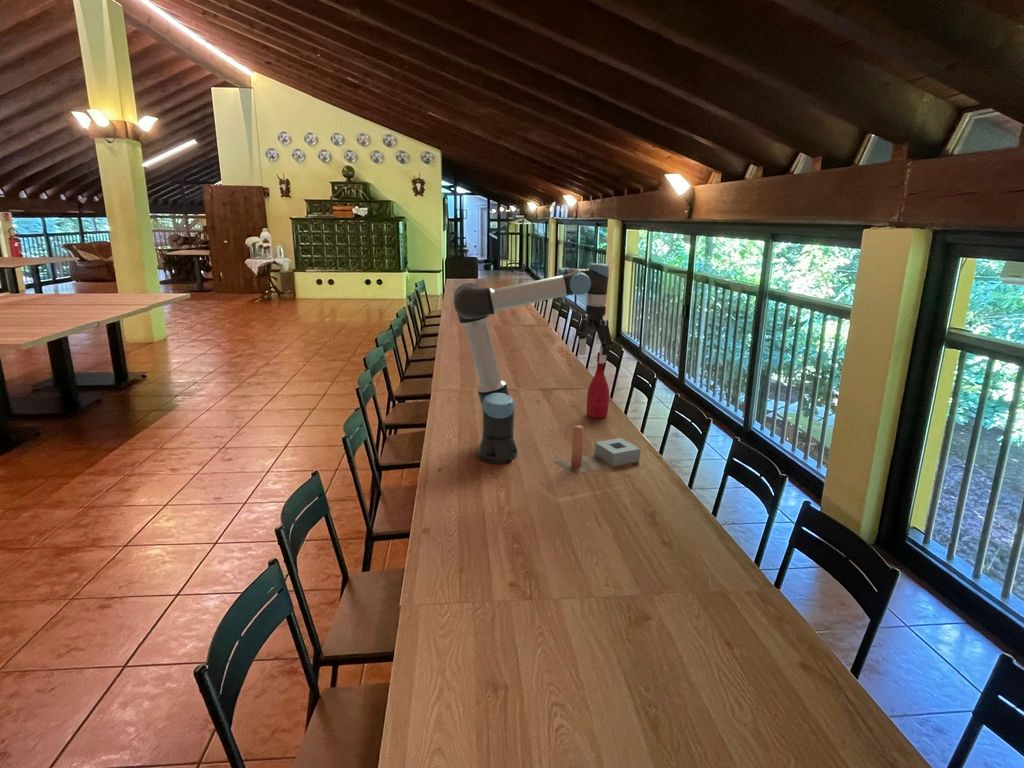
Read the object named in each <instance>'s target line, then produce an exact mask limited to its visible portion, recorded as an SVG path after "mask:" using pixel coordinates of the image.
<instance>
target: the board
mask: <svg viewBox="0 0 1024 768" xmlns="http://www.w3.org/2000/svg"><path fill="white" fill-rule="evenodd" d="M571 461H572V458H567V459H562V460H556V461H554V464H556V465H557V466H558V467H560V468H561V469H562V470H564V471H565V472H567V473H568V474H569V475H576V474H582V473H585V472H591V471H596V470H602V469H607V468H612V467H614V466H611V465H610V464H608V463H607V462H605V461H604V460H602V459H601V458H599V457H598V456H596V455H594V454H590V455H582V460H581V467H573V466H571ZM630 464H631V465H632V466H635V465H639V464H640V460H639V461H638V462H633V463H630ZM618 466H619V465H617V466H616V467H618Z"/></svg>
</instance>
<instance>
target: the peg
mask: <svg viewBox="0 0 1024 768" xmlns="http://www.w3.org/2000/svg"><path fill="white" fill-rule="evenodd" d="M572 428H573V430H572V431H573V433H572V447H571V459H572V461H571V466H573V467H581V460H582V457H583V444H584V443H583V441H584V430H585V429H584V426H583V425H580V424H577V425H573V427H572Z"/></svg>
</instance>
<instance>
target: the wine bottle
mask: <svg viewBox="0 0 1024 768" xmlns="http://www.w3.org/2000/svg"><path fill="white" fill-rule="evenodd" d="M596 355H597V357H596V358H597V359H596V362H597V365H596V371H595V373H594V376H593V377H592V380H591V382H590V383H589V385H588V388H587V389H588V390H587V398H586V415H587V416H588V417H590V418H591V419H604V418H606V417H607V416H608V412H609V402H610V389H609V388H610V387H609V384H608V381H607V379H606V376H605V372H604V370H605V369H604V363H599V356H600V351H599V352H597V354H596Z"/></svg>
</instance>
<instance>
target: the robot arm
mask: <svg viewBox="0 0 1024 768" xmlns="http://www.w3.org/2000/svg"><path fill="white" fill-rule="evenodd" d="M609 271H610V268H609V265H608V264H607V263H602V262H601V263H600V262H599V263H597V262H595V263H594V262H592V263H590V264H589V265H588V268H573V267H559V268H558V269H557V271H556V275H555V276H551V277H546V278H542V279H538V280H533V281H526V282H522V283H517V284H512V285H508V286H503V287H498V288H492V287H490V286H489V287H481V286H480V285H478V284H477V283H474V282H466V283H462V284H461V285H459V286H458V287H457V288H456V289H455V292H454V293H453V306H454V310H455V312H456V313H457V314H456V315H457V318H458V321H459V323H460V325H462V326H464V328H465V332H466V335H467V339H468V344H469V347H470V348H469V349H470V351H471V355H472V359H473V362H474V363H473V364H474V366H475V370H476V375H477V379H478V382H479V386H478V387H477V389H476V390H477V393H478V394H477V395H478V398H479V401H480V405H481V411H482V437H481V440H480V442H479V445H478V449H477V458H478V459H479V460H480V461H482V462H485V463H488V464H498V465H501V464H508V463H511V462H513V460H514V459H516V458H517V457H518V448H517V445H516V441H515V438H514V433H515V432H514V430H515V429H514V426H515V424H514V423H515V410H516V405H515V400H514V398H513V396H511V395H510V393H509V388H508V385H507V382H506V380H504V379H502V377H501V374H500V369H499V365H498V361H497V357H496V356H497V355H496V352H495V347H494V344H493V341H492V336H491V332H490V328H489V323H488V320H489V317H490V316H492V315H496V313H497V312H498V311H501V310H505V309H506V310H507V309H509V308H515V307H520V306H525V305H529V304H534V303H538V302H543V301H548V300H554V299H557V298H558V299H559V298H561V297H562V298H563V297H566V296H568V297H569V296H573V295H578V296H581V295H582V296H583V295H585V294H586V301H585V302H586V305H585V314H582V316H581V321H580V324H579V325H578V328H577V331H576V333H575V336H576V337H578V356H585V355H586V349H587V348H586V347H587V335H588V334H589V333H590V331H591V330H594V332H595V333H597V337H598V339H599V341H600V347H599V352H600V356H599V363H603V364H606V362H607V356H608V348H609V347H611V346H612V345H613V342H612V338H611V337H612V336H611V332H610V328H609V320H608V319H604V317H605V316H606V310H607V306H606V304H607V298H608V287H609V286H608V285H609V278H610V274H609V273H610V272H609Z"/></svg>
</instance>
